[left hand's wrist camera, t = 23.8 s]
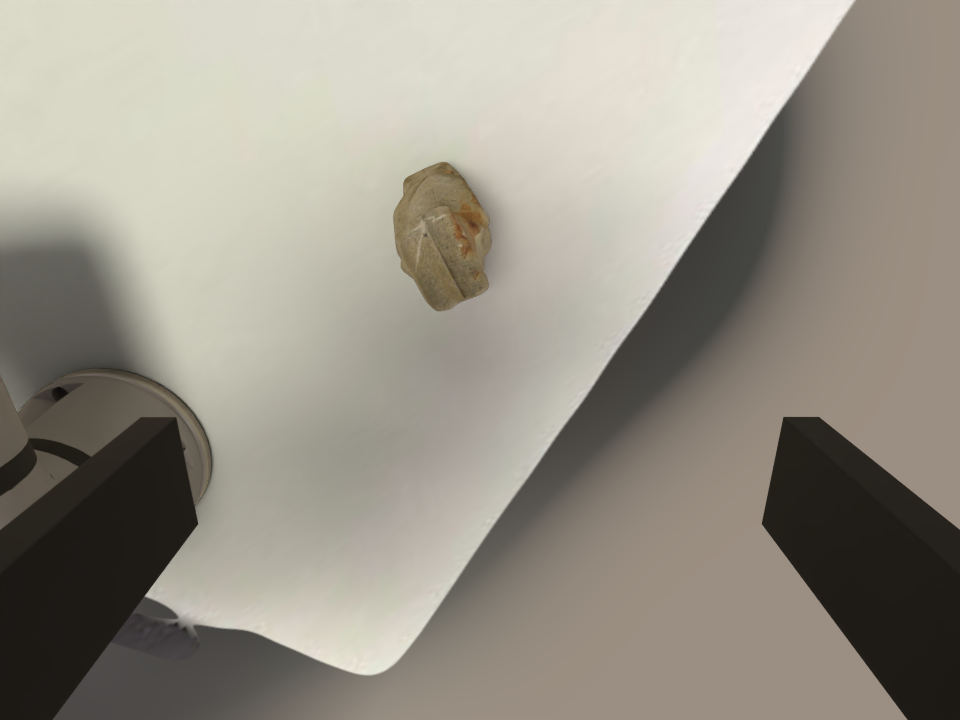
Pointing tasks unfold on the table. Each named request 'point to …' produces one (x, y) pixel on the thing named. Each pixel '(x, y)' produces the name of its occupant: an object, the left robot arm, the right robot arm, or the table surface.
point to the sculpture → (442, 236)
